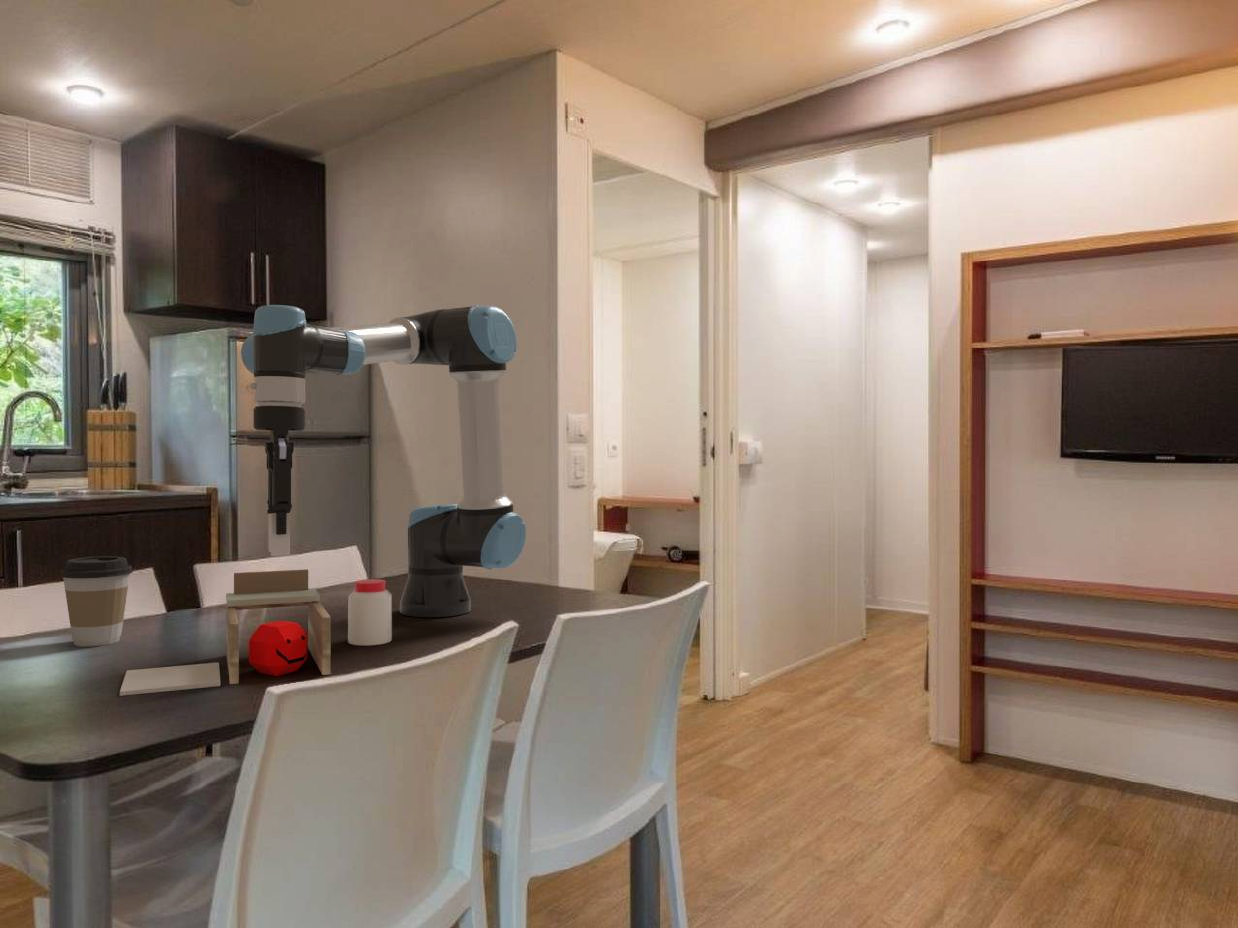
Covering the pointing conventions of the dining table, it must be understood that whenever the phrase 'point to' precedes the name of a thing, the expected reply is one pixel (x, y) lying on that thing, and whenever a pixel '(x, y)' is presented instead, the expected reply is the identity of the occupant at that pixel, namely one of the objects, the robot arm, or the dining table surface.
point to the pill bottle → (370, 613)
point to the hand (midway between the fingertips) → (279, 553)
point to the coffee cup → (96, 598)
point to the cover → (271, 588)
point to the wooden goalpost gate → (316, 636)
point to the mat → (170, 678)
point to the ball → (278, 648)
